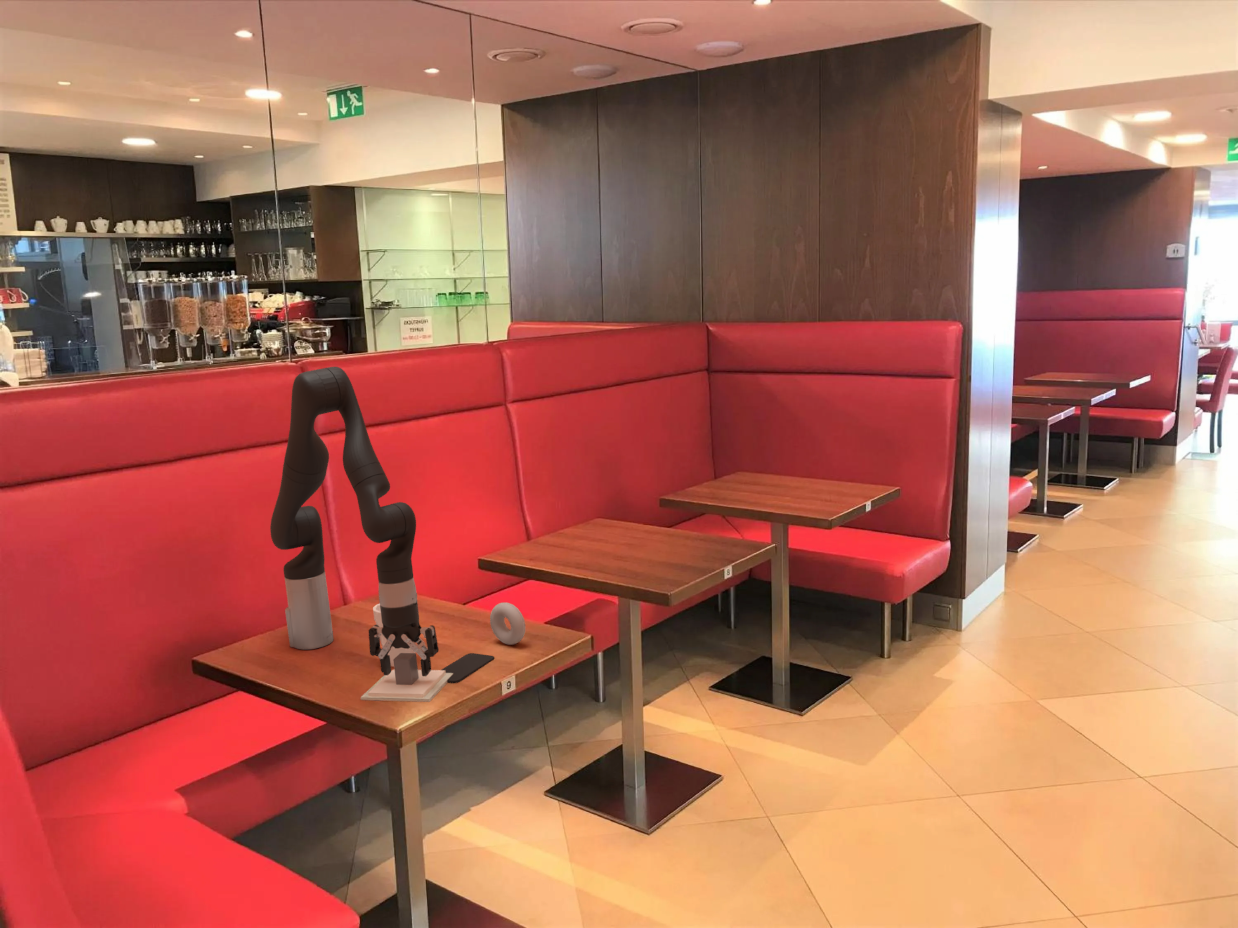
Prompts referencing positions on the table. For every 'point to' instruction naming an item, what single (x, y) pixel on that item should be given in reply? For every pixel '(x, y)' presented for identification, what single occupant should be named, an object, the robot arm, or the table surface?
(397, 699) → the mat
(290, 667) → the table surface
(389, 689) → the lid
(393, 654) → the foam cup
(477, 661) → the phone
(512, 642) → the donut
